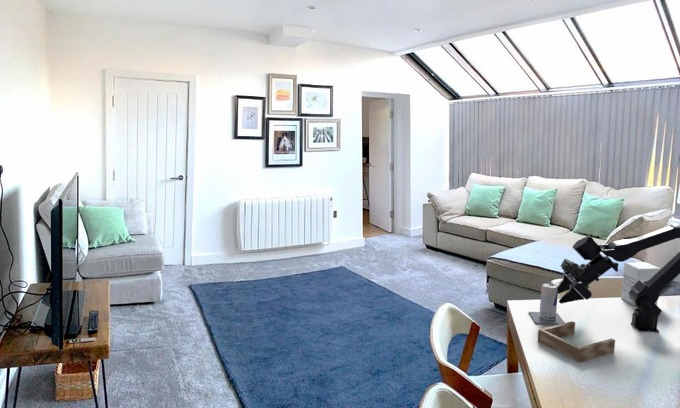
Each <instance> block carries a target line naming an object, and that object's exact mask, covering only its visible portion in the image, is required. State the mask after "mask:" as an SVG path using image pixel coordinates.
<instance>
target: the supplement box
mask: <svg viewBox="0 0 680 408" xmlns="http://www.w3.org/2000/svg"><path fill="white" fill-rule="evenodd" d="M623 263H624V266H623V274H622V275H623V276H622V284H621V285H622V286H621V294H620V295H621V297H620V298H621V299H622V300H623V301H625V302H627V303H629V304H631V305H632V306H634V307H636V306H635V305H634V303H633V302H632V301H631V300H630V298H629V292H630V290H631V288H630V287H633V286H634V285H635V284H636V283H637V281H639V280H640V281H642V282H646V281H648V280H650V279H651V278H652V277H653V276H654V275H655V274H656V273H657V272H658V271H659V270H661V269H662V268H661V267H658V266H656V265H653V264H650V263H648V262H646V261H643V262H642V261H641V262H640V261H639V262H638V261H637V262H636V261H635V262H623ZM658 300H659V299H658ZM658 300H657V301H656V303H655V304H656V305H657V306H658Z"/></svg>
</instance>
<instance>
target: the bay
mask: <svg viewBox="0 0 680 408" xmlns="http://www.w3.org/2000/svg"><path fill="white" fill-rule="evenodd" d="M537 331H538V333H537V342H538V343H541V344H543V345H544V346H546V347H548V348H550V349H552V350H553V351H556V352H558V353H560V354H562V355H564V356H565V357H568V358H569V359H571V360H574V362H577V363H581V362H586V361H589V360H592V359H596V358H599V357H603V356H607V355H610V354H612V353H615V346H616V339H614V338H609V339H608V338H607V339H604V340H601V341H597V342H594V343H589V344H586V345H582V346H578V345H577V344H573V343H571V342H570V341H567V340H565V339H563V338H564V337H567V336H568V337H570V336H572V335H573V336H574V335H575V331H576V322H575V321H568V322H565V323H563V324H559V325H549V326H546V327H543V328H538V330H537Z"/></svg>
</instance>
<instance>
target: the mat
mask: <svg viewBox="0 0 680 408" xmlns="http://www.w3.org/2000/svg"><path fill="white" fill-rule="evenodd" d="M528 314H529V316H530V315H531V316H530V318H531V317H532V318H531V319H532V321H533V320H534V321H533V322H535V323H534V324H535V325H541V324H543V325H544V326H545V325H546V326H555V325H559V324H563V323H566V322H565V321H564V320H563V318H562V317H561V316H560V314H559V313H558V312H556V319H555V320H544V319H542V318H541V317H540V316H539V315H540V311H528Z"/></svg>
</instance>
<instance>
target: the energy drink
mask: <svg viewBox="0 0 680 408" xmlns="http://www.w3.org/2000/svg"><path fill="white" fill-rule="evenodd" d="M558 286H559V285H557V284H554V283H550V282H545V283H543V284H541V288H540V289H541V290H540V301H539V302H540V303H539V312H540V315H539V316H540V317H541V318H542V319H544V320H555V319H556V313H557V307H558V306H557V305H558V295H559V294H558Z"/></svg>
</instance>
